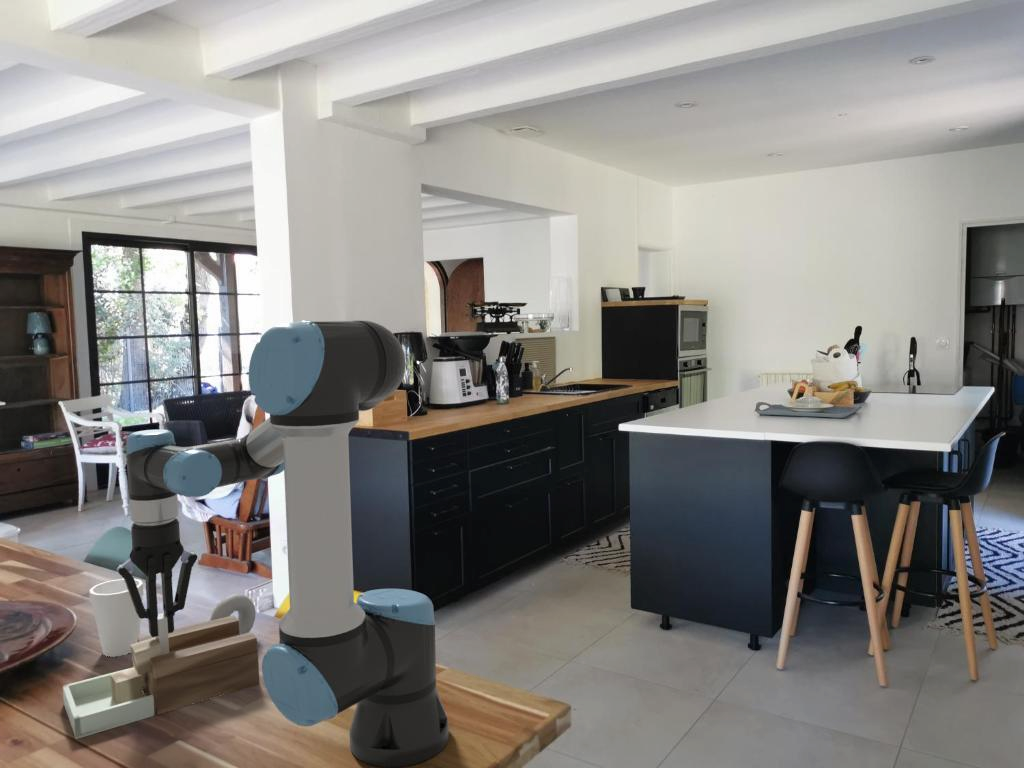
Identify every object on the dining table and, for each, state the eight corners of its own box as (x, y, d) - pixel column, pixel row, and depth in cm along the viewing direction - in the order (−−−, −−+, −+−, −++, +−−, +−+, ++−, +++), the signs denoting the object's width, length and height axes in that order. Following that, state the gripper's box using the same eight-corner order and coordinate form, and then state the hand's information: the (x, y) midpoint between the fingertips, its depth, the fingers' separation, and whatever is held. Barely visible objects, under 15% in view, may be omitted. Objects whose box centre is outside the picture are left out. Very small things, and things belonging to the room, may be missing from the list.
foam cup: (156, 640, 158) (152, 578, 157) (129, 660, 149) (125, 595, 148) (112, 639, 159) (108, 578, 158) (83, 659, 150) (78, 594, 149)
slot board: (259, 684, 139) (257, 638, 138) (157, 714, 129) (154, 665, 128) (235, 657, 150) (233, 614, 149) (139, 683, 140) (137, 637, 139)
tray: (154, 715, 128) (153, 696, 128) (75, 739, 122) (74, 719, 121) (136, 684, 140) (135, 666, 139) (63, 704, 133) (62, 685, 133)
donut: (218, 653, 152) (215, 604, 151) (207, 649, 154) (204, 601, 153) (260, 635, 160) (258, 588, 159) (249, 632, 162) (247, 585, 161)
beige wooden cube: (163, 666, 133) (160, 644, 132) (138, 675, 130) (135, 652, 130) (158, 658, 136) (155, 637, 135) (133, 666, 134) (130, 644, 133)
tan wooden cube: (141, 675, 133) (116, 682, 130) (143, 697, 133) (117, 705, 131) (135, 667, 136) (110, 674, 133) (136, 689, 136) (111, 697, 134)
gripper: (189, 509, 140) (196, 635, 142) (109, 522, 132) (117, 654, 135) (200, 518, 134) (207, 649, 136) (117, 531, 126) (126, 670, 129)
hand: (163, 652), depth 135 cm, fingers closed
